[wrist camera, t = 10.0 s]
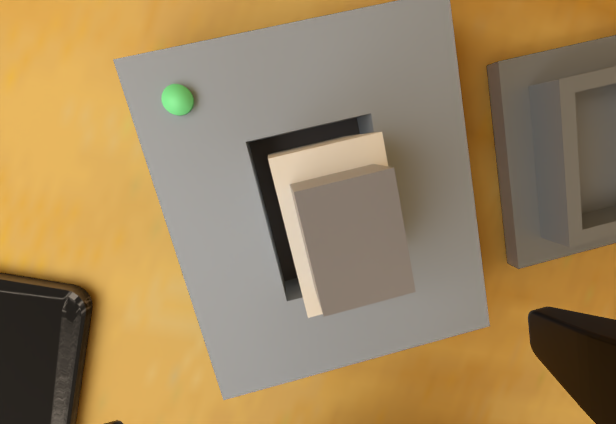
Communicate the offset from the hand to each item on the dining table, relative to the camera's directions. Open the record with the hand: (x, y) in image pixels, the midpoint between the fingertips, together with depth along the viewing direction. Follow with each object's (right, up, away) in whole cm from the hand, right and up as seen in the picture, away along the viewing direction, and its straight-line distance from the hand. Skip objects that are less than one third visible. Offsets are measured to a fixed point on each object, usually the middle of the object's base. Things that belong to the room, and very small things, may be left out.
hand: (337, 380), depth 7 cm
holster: (+16, +7, +13) cm, 22 cm away
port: (0, +4, +12) cm, 13 cm away
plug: (0, +4, +11) cm, 11 cm away
